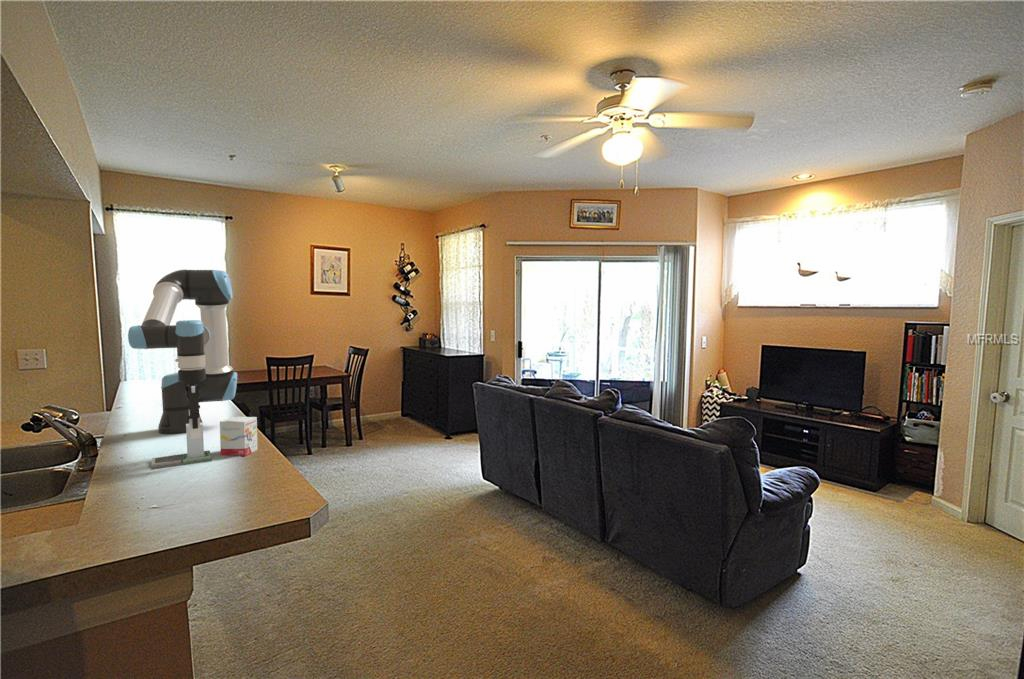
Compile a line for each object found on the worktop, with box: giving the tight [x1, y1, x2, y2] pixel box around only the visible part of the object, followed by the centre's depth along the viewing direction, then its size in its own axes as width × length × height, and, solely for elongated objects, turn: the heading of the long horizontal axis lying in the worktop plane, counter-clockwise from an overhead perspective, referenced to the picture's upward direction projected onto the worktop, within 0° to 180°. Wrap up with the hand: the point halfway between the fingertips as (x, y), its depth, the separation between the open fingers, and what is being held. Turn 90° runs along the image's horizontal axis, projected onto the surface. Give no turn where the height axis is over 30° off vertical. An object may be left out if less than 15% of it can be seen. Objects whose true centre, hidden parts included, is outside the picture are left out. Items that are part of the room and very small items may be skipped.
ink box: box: [219, 416, 258, 457], centre depth 174 cm, size 9×9×12 cm
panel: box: [150, 450, 213, 471], centre depth 164 cm, size 13×16×2 cm
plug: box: [185, 421, 205, 459], centre depth 166 cm, size 4×4×12 cm
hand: (195, 433), depth 167 cm, fingers open, 13 cm apart
